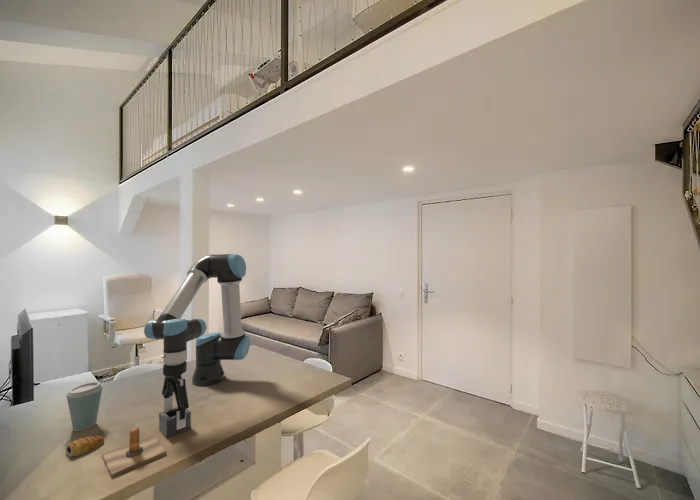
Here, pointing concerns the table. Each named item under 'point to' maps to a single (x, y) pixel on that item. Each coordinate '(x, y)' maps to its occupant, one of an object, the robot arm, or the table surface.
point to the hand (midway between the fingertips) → (174, 421)
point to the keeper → (133, 453)
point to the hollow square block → (172, 422)
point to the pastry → (83, 445)
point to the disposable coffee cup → (84, 405)
